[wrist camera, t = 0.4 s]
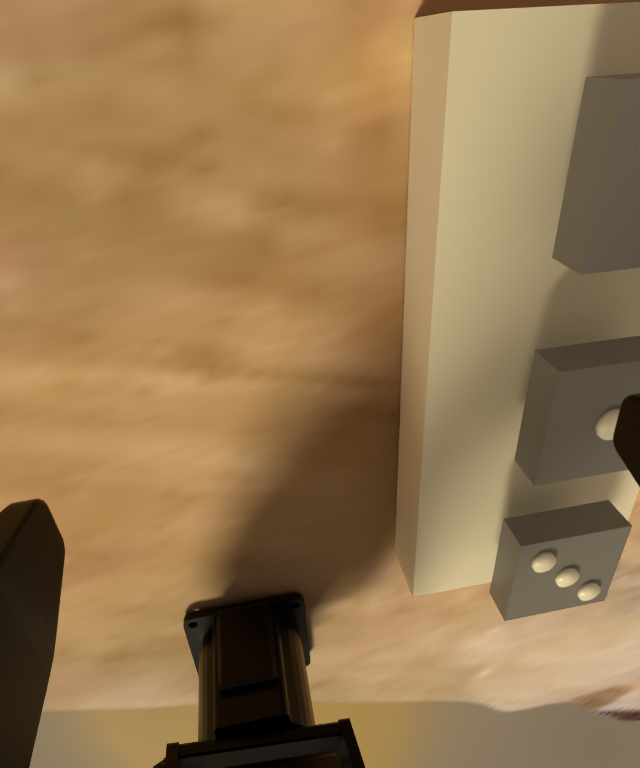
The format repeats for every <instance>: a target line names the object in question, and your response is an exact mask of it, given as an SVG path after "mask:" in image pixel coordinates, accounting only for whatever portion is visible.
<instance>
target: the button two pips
mask: <svg viewBox="0 0 640 768" xmlns="http://www.w3.org/2000/svg"><path fill="white" fill-rule="evenodd" d="M552 258H553V259H555V260H557V261H558V262H560V263H562V264H563V265H565V266H567V267H568V268H570V269H572V270H573V271H575V272H577V273H579V274H580V275H583V274H591V273H600V272H608V271H616V270H625V269H633V268H640V73H634V74H620V75H606V76H591V77H586V78H585V83H584V89H583V94H582V99H581V105H580V110H579V115H578V121H577V126H576V131H575V137H574V142H573V148H572V153H571V158H570V164H569V169H568V174H567V180H566V185H565V190H564V196H563V201H562V207H561V212H560V217H559V223H558V228H557V233H556V239H555V244H554V249H553V255H552Z"/></svg>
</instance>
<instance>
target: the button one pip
mask: <svg viewBox="0 0 640 768" xmlns="http://www.w3.org/2000/svg"><path fill="white" fill-rule="evenodd" d="M636 393H640V336H632V337H625V338H618V339H611V340H603V341H596V342H589V343H582V344H574V345H567V346H560V347H553V348H545V349H538V350H535V351H534V357H533V362H532V367H531V373H530V378H529V383H528V389H527V394H526V400H525V405H524V410H523V416H522V421H521V426H520V432H519V437H518V442H517V448H516V453H515V459H514V460H515V461H516V462H517V464H518V465H519V466H520V468H521V469H522V470H523V472H524V473H525V474H526V476H527V477H528V478H529V480H530V481H531V482H532V484H533V485H534V486H537V485H543V484H549V483H554V482H560V481H566V480H572V479H578V478H584V477H589V476H595V475H601V474H607V473H613V472H618V471H624V470H628V469H627V467H626V466H625V464H624V462H623V461H622V459H621V458H620V456H619V455H618V453H617V451H616V449H615V447H614V443H613V434H614V430H615V426H616V422H617V418H618V414H619V410H620V406H621V403H622V401H623V400H624V398H625V397H626V396H628V395H631V394H636Z"/></svg>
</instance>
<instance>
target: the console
mask: <svg viewBox="0 0 640 768" xmlns="http://www.w3.org/2000/svg"><path fill="white" fill-rule="evenodd" d="M634 73H640V2H625V3H606V4H587V5H567V6H548V7H529V8H509V9H490V10H471V11H452V12H446V13H440V14H435V15H429V16H423V17H417V18H415V19H414V46H413V74H412V101H411V128H410V155H409V182H408V210H407V237H406V264H405V291H404V319H403V346H402V373H401V400H400V428H399V455H398V482H397V509H396V536H395V552H396V554H397V557H398V560H399V562H400V565H401V568H402V570H403V573H404V575H405V578H406V581H407V583H408V586H409V589H410V591H411V594H412V596H413V597H417V596H422V595H427V594H432V593H437V592H442V591H447V590H453V589H458V588H463V587H468V586H473V585H478V584H484V583H489V582H492V577H493V571H494V566H495V560H496V555H497V550H498V544H499V539H500V534H501V528H502V523H503V519H505V518H510V517H516V516H521V515H527V514H533V513H538V512H544V511H549V510H555V509H561V508H566V507H572V506H577V505H583V504H589V503H594V502H600V501H605V500H609V501H610V502H611V503H612V504H613V505H614V506H615V507H616V509H617V510H618V511H619V512H620V513H621V514H622V515H623V516H624V517H625V519H626V520H627V521H628V520H629V517H630V514H631V511H632V509H633V506H634V503H635V500H636V498H637V495H638V492H639V489H640V487H639V486H638V484H637V482H636V481H635V479H634V478H633V476H632V475H631V473H630V472H629V470H624V471H618V472H613V473H607V474H601V475H595V476H589V477H584V478H578V479H572V480H566V481H560V482H554V483H549V484H543V485H537V486H534V485H533V484H532V482H531V481H530V480H529V478H528V477H527V476H526V474H525V473H524V472H523V470H522V469H521V468H520V466H519V465H518V464H517V462H516V461H515V460H514V459H515V453H516V448H517V442H518V437H519V432H520V426H521V421H522V416H523V410H524V405H525V400H526V394H527V389H528V383H529V378H530V373H531V367H532V362H533V357H534V351H535V350H538V349H545V348H553V347H560V346H567V345H574V344H582V343H589V342H596V341H603V340H611V339H618V338H625V337H632V336H640V268H633V269H625V270H616V271H608V272H600V273H591V274H583V275H580V274H579V273H577V272H575V271H573V270H572V269H570V268H568V267H567V266H565V265H563V264H562V263H560V262H558V261H557V260H555V259H553V258H552V255H553V249H554V244H555V239H556V233H557V228H558V223H559V217H560V212H561V207H562V201H563V196H564V190H565V185H566V180H567V174H568V169H569V164H570V158H571V153H572V148H573V142H574V137H575V131H576V126H577V121H578V115H579V110H580V105H581V99H582V94H583V89H584V83H585V78H586V77H591V76H606V75H620V74H634Z"/></svg>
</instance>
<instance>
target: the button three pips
mask: <svg viewBox="0 0 640 768" xmlns="http://www.w3.org/2000/svg"><path fill="white" fill-rule="evenodd" d="M631 527H632V525H631V524H630V523H629V522H628V521H627V520H626V519H625V517H624V516H623V515H622V514H621V513H620V512H619V511H618V510H617V509H616V507H615V506H614V505H613V504H612V503H611V502H610V501H609V500H605V501H600V502H594V503H589V504H583V505H577V506H572V507H566V508H561V509H555V510H549V511H544V512H538V513H533V514H527V515H521V516H516V517H510V518H505V519H503V523H502V528H501V534H500V539H499V544H498V550H497V555H496V560H495V566H494V571H493V577H492V582H491V587H490V594H491V596H492V598H493V600H494V602H495V604H496V605H497V607H498V609H499V611H500V613H501V615H502V617H503V619H504V621H507V620H512V619H517V618H521V617H526V616H531V615H536V614H541V613H546V612H551V611H556V610H561V609H566V608H570V607H575V606H580V605H585V604H590V603H595V602H600V601H604V600H605V598H606V595H607V592H608V589H609V587H610V584H611V581H612V579H613V576H614V573H615V571H616V568H617V565H618V562H619V560H620V557H621V554H622V552H623V549H624V546H625V544H626V541H627V538H628V535H629V533H630V530H631Z"/></svg>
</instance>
